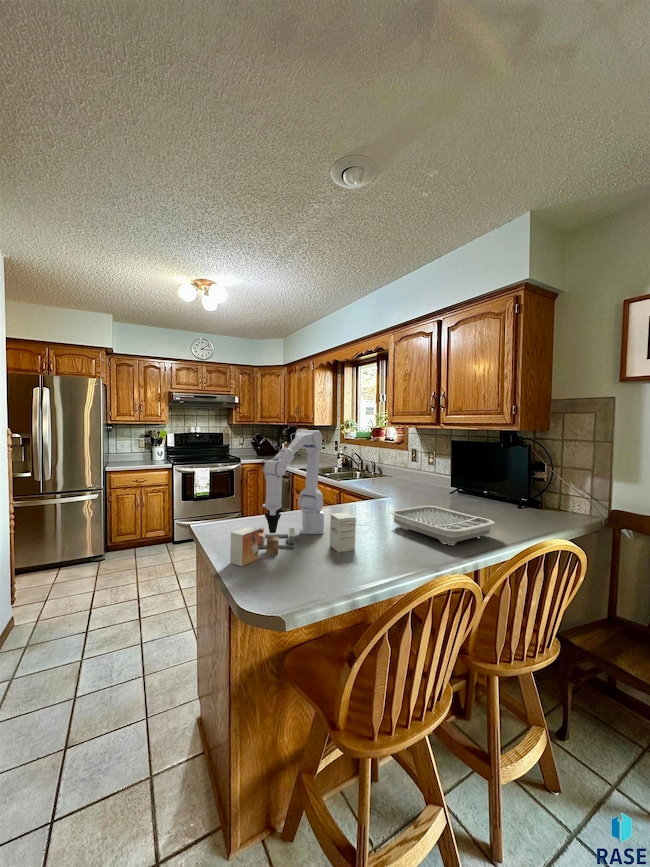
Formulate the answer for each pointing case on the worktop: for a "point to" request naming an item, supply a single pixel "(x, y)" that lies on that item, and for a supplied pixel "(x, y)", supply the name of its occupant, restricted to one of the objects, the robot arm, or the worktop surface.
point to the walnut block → (272, 545)
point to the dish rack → (442, 523)
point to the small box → (244, 546)
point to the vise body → (290, 536)
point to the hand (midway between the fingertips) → (273, 529)
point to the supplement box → (342, 532)
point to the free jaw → (261, 536)
